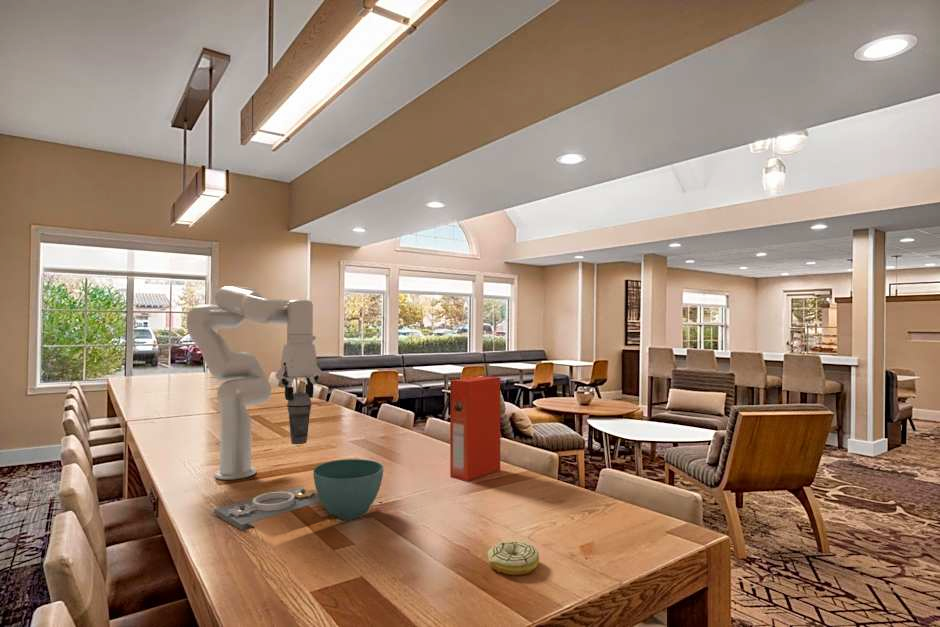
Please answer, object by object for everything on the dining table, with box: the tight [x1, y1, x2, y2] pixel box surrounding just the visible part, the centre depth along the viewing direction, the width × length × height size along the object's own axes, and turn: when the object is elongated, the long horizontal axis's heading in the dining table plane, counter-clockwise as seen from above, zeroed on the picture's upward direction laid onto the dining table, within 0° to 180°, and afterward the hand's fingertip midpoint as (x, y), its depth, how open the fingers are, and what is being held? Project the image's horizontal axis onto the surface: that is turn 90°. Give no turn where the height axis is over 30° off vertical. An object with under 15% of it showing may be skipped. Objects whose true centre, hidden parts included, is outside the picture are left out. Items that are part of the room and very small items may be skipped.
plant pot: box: [312, 458, 384, 521], centre depth 139 cm, size 18×18×12 cm
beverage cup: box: [286, 377, 312, 445], centre depth 160 cm, size 7×7×20 cm
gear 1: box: [227, 505, 256, 518], centre depth 136 cm, size 7×7×2 cm
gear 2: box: [291, 488, 317, 500], centre depth 149 cm, size 7×7×2 cm
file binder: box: [449, 375, 501, 482], centre depth 177 cm, size 8×17×32 cm, turn 140°
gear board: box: [213, 486, 322, 532], centre depth 142 cm, size 16×25×3 cm, turn 139°
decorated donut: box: [487, 541, 540, 576], centre depth 111 cm, size 10×11×4 cm
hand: (299, 398), depth 160 cm, fingers closed on beverage cup, 6 cm apart
